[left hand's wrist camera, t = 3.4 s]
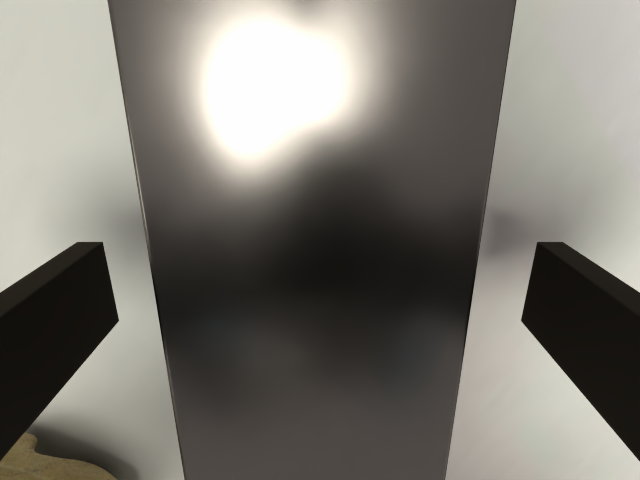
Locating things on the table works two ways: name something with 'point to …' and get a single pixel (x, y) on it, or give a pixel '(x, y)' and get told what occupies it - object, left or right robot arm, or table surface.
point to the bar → (313, 222)
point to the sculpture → (45, 465)
